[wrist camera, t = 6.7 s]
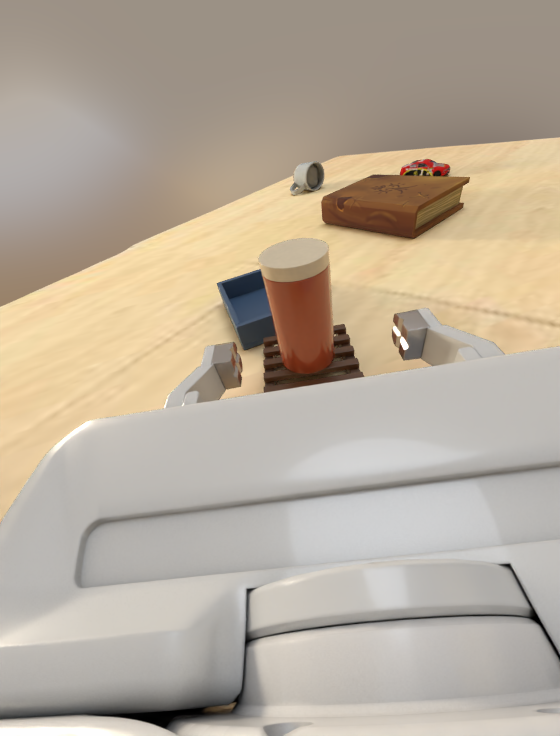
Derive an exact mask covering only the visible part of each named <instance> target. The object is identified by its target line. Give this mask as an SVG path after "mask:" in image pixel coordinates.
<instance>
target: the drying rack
mask: <svg viewBox="0 0 560 736" xmlns="http://www.w3.org/2000/svg"><path fill="white" fill-rule="evenodd" d="M333 328H334V334H336V336H335V337H334V345H335V346H336V345H338V346H339V348H335V357H334V358H339V357H342V358H343V360H341V361H335V362H332V363H331V364H330V365H329V366H328V367H326V368H325V369H323V370H321V371H318V372H315V373H310V374H300V373H295V372H292V371H290V370H288V369H285V370H279V371H276V368H277V367H283V366H284V365H283V363H282V360H281V357H279V358H275V356H276V355H280V351H279V347H278V346H275V347H274V345H275V344H278V343H277V338H276V336H271V337H265V338H263V342H264V346H265V348H264V356H265V360H264V368H265V373H264V381H265V387H264V393H266V392H272V391H278V390H285V389H291V388H297V387H304V386H310V385H316V384H323V383H329V382H335V381H342V380H348V379H354V378H361V377H364V375H363V372H360V370H359V362H358V359H357V358H355V356H354V348H353V346H351V345H350V338H349V335H348V334H346V327H345V325H344V324H341V325H335V326H333ZM343 370H346V371H347V374H344V375H338V376H331V377H325V378H319V379H312V380H306V381H299V382H293V383H287V384H280V385H277V381H280V380H286V379H292V378H299V377H305V376H311V375H318V374H324V373H330V372H337V371H343Z"/></svg>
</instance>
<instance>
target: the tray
mask: <svg viewBox="0 0 560 736" xmlns="http://www.w3.org/2000/svg"><path fill="white" fill-rule="evenodd" d="M217 286H218V289H219V292H220V294H221V297H222V300H223V303H224V305H225V308H226V310H227V312H228V315H229V317H230V319H231V322H232V324H233V326H234V329H235V331H236V333H237V335H238V338H239V340H240V342H241V345H242V347H243V349H244V350H247V349H249V348H252V347H255V346H258V345H260V344H263V343H264V342H263V338H265V337H271V336H276V334H275V330H274V325H273V321H272V317H271V312H270V308H269V304H268V299H267V295H266V291H265V286H264V282H263V278H262V273H261V269H259V270H256V271H253V272H250V273H247V274H244V275H241V276H238V277H234V278H231V279H228V280H225V281H222V282H219V283H217Z"/></svg>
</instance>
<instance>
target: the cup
mask: <svg viewBox="0 0 560 736" xmlns="http://www.w3.org/2000/svg"><path fill="white" fill-rule="evenodd" d="M258 260H259V265H260V269H261V273H262V278H263V282H264V286H265V291H266V295H267V299H268V304H269V308H270V312H271V317H272V321H273V325H274V330H275V334H276V338H277V343H278V347H279V351H280V356H281V360H282V363H283V365H284V366H285V367H286V368H287V369H288V370H290V371H292V372H295V373H300V374H310V373H315V372H318V371H321V370H323V369H325V368H326V367H328V366H329V365H330V364H331V363H332V361H333V359H334V357H335V345H334V328H333V311H332V294H331V277H330V262H329V261H330V260H329V247H328V245H327V243H326V242H324V241H322V240H319V239H313V238H299V239H292V240H287V241H283V242H280V243H277V244H275V245H273V246H271V247H269V248H267V249H265V250H264V251H263V252H262V253H261V254H260V256H259V259H258Z"/></svg>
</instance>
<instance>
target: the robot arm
mask: <svg viewBox="0 0 560 736" xmlns="http://www.w3.org/2000/svg"><path fill="white" fill-rule="evenodd" d="M393 322H394V323H395V326H394V327H393V328H392V338H393V342H394V344H395V346H396V347H398V348H399V353H400V355H401V357H402V359H403V360H411V359H419V358H421V359H422V360H424V361H425V362H427V363H429V364H430V365H432V366H430V367H424V368H418V369H411V370H405V371H399V372H392V373H386V374H380V375H373V376H367V377H361V378H354V379H348V380H342V381H335V382H329V383H323V384H316V385H310V386H304V387H297V388H291V389H285V390H278V391H272V392H266V393H259V394H253V395H247V396H240V397H234V398H228V399H221V400H219V399H220V398H221V396H222V395H223V393H224V392H225V391H226V389H231V388H237V387H241V380H242V377H241V372H242V361H241V357H240V355H239V354H238V353H237V346H236V344H235V343H234V342H230V343H224V344H217V345H211V346H207V347H205V351H204V355H203V359H202V363H201V366H200V367H198V368H196V369H195V370H194V371H193V372H192V373H191V374H190V375H189V376H188V377H187V378H186V379H185V380H184V381H183V382H181V383H180V384H179V385H178V386H177V387H176V388H175V389H174V390H173V391H172V392H171V393H170V394H169V395H168V397H167V400H166V403H165V407H164V409H158V410H152V411H145V412H139V413H133V414H126V415H120V416H114V417H107V418H99V419H94V420H90V421H87V422H85V423H84V424H82V425H81V426H79V427H78V428H76V429H75V430H74V431H72V432H71V433H70V434H68V435H67V436H66V437H64V438H63V439H62V440H61V441H59V442H58V443H57V444H55V445H54V446H53V447H52V448H51V449H50V450H49V451H48V452H47V454H46V455H45V456H44V458H43V459H42V460H41V462H40V463H39V464H38V466H37V467H36V469H35V470H34V472H33V473H32V475H31V476H30V478H29V479H28V480H27V482H26V484H25V485H24V487H23V488H22V490H21V491H20V493H19V494H18V496H17V497H16V499H15V501H14V502H13V504H12V505H11V507H10V508H9V510H8V511H7V513H6V515H5V516H4V518H3V520H2V521H1V523H0V736H560V346H557V347H551V348H544V349H538V350H532V351H526V352H519V353H513V354H507V355H505V354H504V353H503V352H502V351H501V350H500V349H499V348H498V347H497V346H496V344H495V343H494V342H491V341H488V340H486V339H483V338H480V337H477V336H475V335H472V334H469V333H466V332H464V331H461V330H458V329H455V328H452V327H450V326H447V325H442V324H441V323H440V322H439V321H438V320H437V319H436V317H435V316H434V315H433V314H432V313H431V311H430V310H429V309H428V308H422V309H417V310H413V311H408V312H403V313H397V314H395V315H394V318H393Z"/></svg>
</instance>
